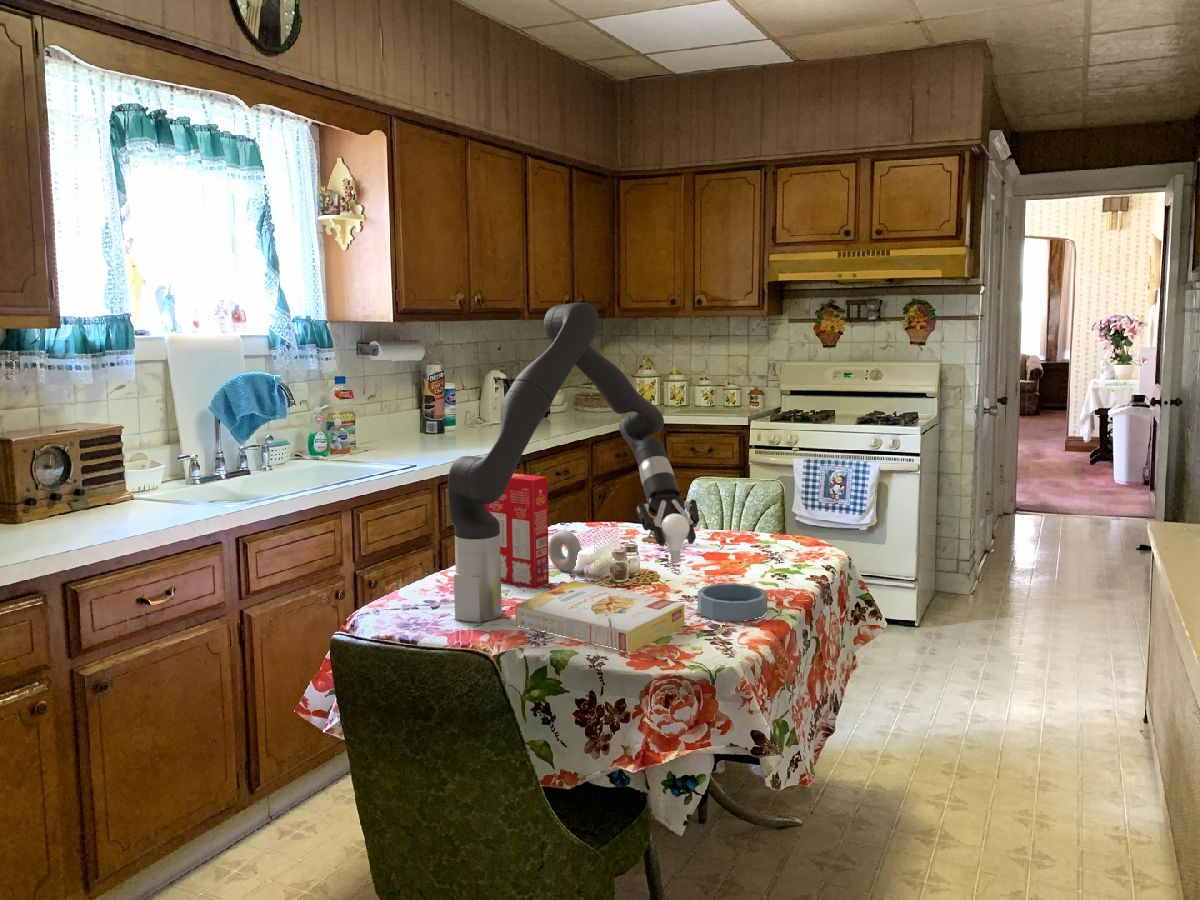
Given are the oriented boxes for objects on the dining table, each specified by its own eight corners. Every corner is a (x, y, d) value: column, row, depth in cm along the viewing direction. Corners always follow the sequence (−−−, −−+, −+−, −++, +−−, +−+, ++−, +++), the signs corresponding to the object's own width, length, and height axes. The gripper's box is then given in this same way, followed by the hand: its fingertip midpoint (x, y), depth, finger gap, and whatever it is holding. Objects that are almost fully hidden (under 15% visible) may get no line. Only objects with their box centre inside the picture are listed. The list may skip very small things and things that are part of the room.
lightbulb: (665, 567, 218) (666, 517, 216) (656, 560, 224) (656, 511, 222) (693, 565, 219) (694, 515, 218) (682, 558, 226) (683, 510, 224)
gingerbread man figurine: (676, 544, 271) (676, 500, 269) (667, 546, 268) (667, 502, 266) (650, 539, 277) (650, 496, 275) (641, 541, 274) (641, 498, 272)
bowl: (755, 625, 202) (755, 606, 201) (689, 616, 208) (689, 597, 207) (773, 606, 214) (774, 588, 214) (711, 598, 220) (711, 580, 220)
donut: (584, 572, 242) (584, 532, 241) (575, 575, 240) (574, 534, 238) (555, 565, 249) (554, 526, 247) (545, 568, 246) (544, 528, 245)
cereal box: (573, 578, 217) (686, 599, 201) (574, 603, 218) (686, 626, 202) (513, 603, 201) (631, 628, 185) (514, 630, 202) (631, 657, 186)
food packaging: (548, 583, 233) (547, 476, 230) (535, 588, 229) (533, 480, 225) (499, 574, 241) (497, 471, 238) (485, 579, 237) (482, 474, 233)
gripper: (632, 472, 224) (651, 536, 214) (692, 469, 228) (713, 531, 219) (624, 491, 230) (642, 554, 220) (683, 488, 234) (702, 550, 224)
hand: (677, 542), depth 219 cm, fingers closed on lightbulb, 6 cm apart
